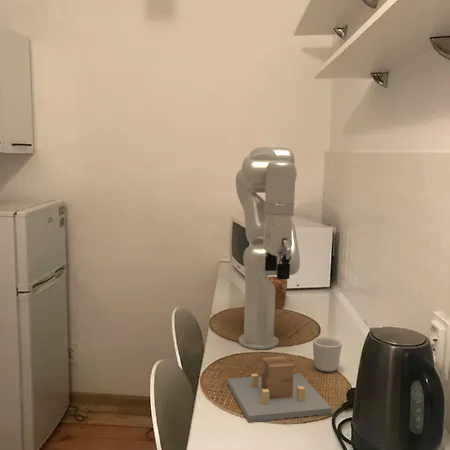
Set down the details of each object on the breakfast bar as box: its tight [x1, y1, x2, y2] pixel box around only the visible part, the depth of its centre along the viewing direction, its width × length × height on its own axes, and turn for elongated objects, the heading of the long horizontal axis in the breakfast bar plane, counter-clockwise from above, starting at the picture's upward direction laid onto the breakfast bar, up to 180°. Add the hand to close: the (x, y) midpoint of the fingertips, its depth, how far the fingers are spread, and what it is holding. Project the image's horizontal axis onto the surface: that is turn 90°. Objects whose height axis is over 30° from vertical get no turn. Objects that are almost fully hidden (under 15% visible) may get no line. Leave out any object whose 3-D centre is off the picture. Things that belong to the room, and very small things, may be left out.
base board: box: [227, 372, 333, 423], centre depth 130 cm, size 20×20×4 cm
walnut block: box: [261, 355, 295, 399], centre depth 130 cm, size 6×6×8 cm
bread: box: [268, 275, 288, 310], centre depth 215 cm, size 19×11×10 cm, turn 170°
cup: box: [312, 336, 343, 373], centre depth 150 cm, size 11×8×8 cm
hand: (276, 274), depth 139 cm, fingers open, 9 cm apart
